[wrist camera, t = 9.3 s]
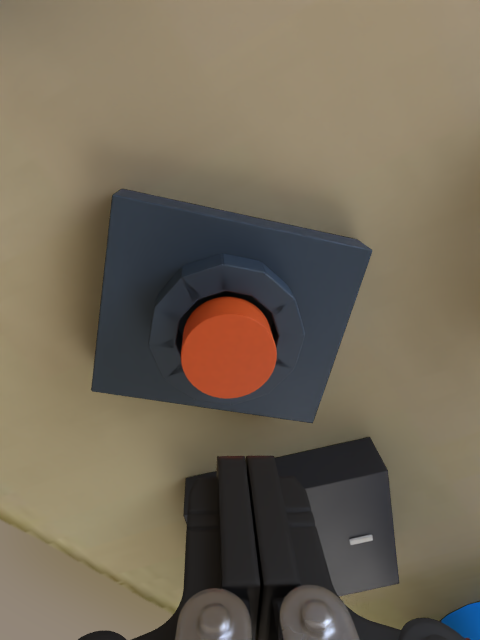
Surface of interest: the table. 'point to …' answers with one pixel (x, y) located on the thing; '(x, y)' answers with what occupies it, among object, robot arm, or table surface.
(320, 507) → the dial panel
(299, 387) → the switch block
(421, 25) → the table surface
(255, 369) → the button
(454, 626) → the thermos
